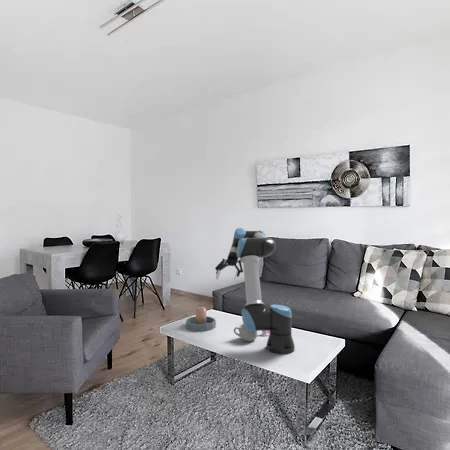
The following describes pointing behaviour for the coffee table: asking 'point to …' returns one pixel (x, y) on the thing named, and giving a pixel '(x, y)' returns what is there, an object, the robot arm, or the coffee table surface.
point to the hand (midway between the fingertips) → (225, 279)
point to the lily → (265, 332)
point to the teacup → (245, 333)
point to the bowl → (202, 327)
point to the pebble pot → (201, 315)
